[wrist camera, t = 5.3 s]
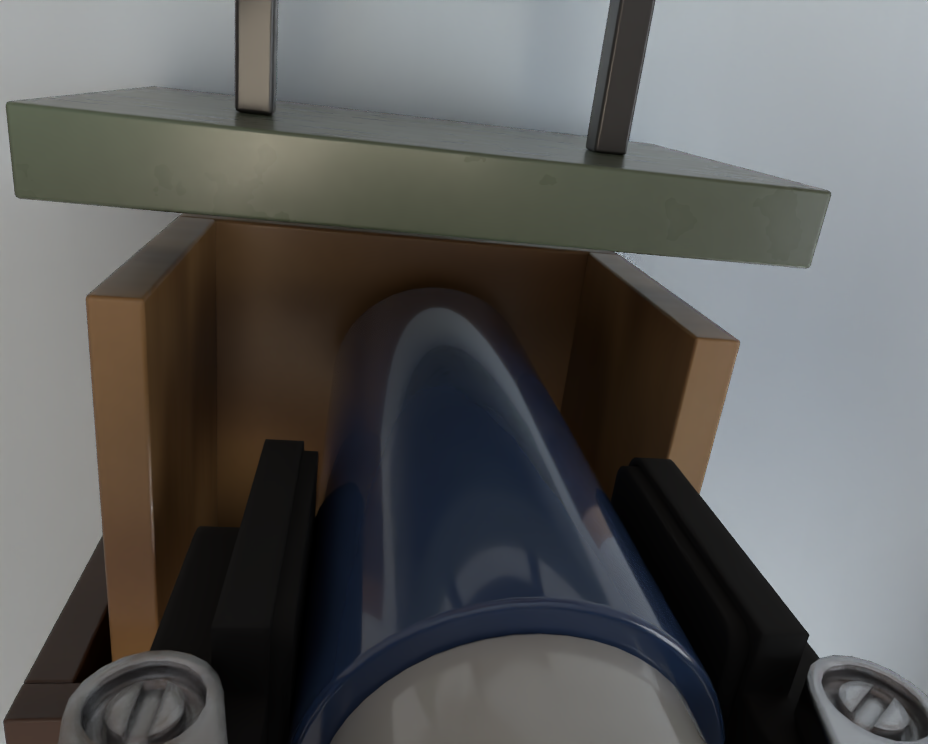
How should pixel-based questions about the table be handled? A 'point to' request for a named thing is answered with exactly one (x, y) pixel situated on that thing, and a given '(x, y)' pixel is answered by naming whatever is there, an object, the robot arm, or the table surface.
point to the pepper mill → (475, 558)
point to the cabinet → (64, 659)
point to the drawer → (377, 276)
